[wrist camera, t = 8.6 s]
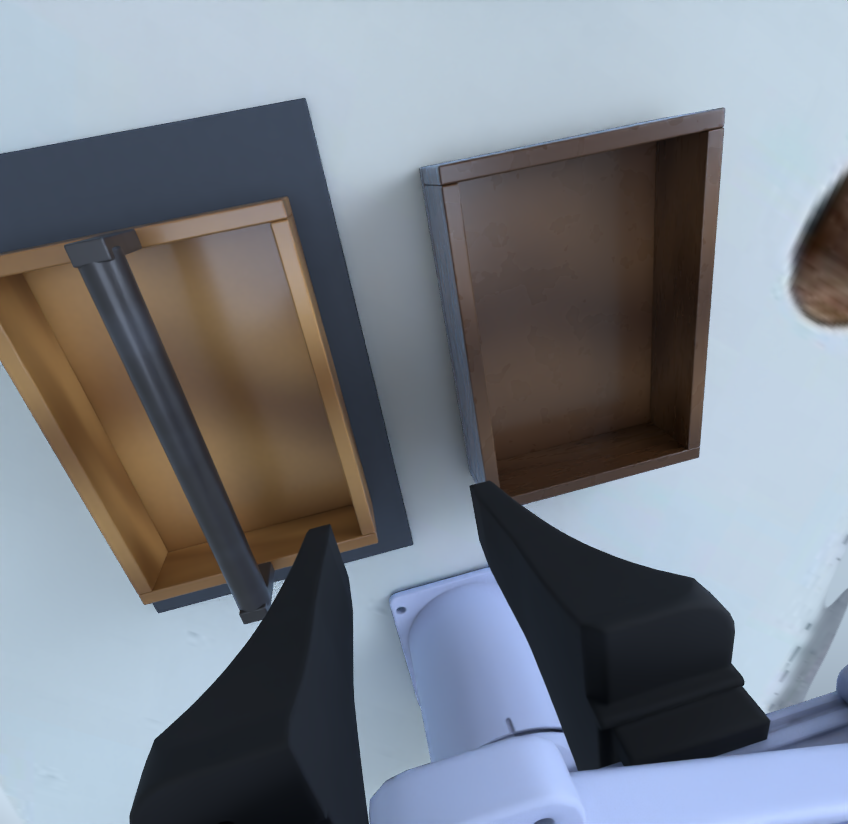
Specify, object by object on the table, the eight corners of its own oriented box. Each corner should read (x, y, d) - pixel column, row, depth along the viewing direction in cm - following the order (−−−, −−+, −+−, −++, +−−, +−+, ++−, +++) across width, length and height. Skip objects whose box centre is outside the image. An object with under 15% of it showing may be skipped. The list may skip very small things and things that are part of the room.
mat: (412, 540, 26) (413, 545, 26) (160, 607, 25) (157, 613, 25) (305, 99, 18) (305, 97, 17) (-90, 172, 16) (-99, 172, 16)
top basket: (372, 503, 25) (385, 586, 20) (163, 557, 24) (122, 658, 19) (288, 195, 18) (275, 202, 13) (1, 253, 18) (-126, 282, 13)
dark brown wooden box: (654, 424, 26) (699, 457, 23) (469, 472, 25) (490, 514, 22) (663, 117, 20) (726, 106, 17) (418, 167, 19) (438, 165, 16)
